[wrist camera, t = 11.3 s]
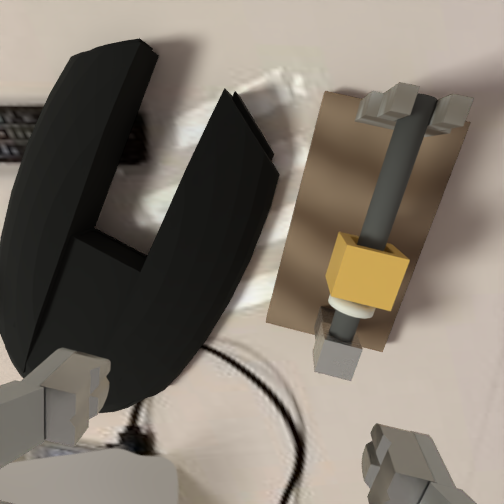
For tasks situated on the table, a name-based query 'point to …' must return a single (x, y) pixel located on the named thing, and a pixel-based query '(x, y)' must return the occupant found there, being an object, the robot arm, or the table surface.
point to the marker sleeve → (365, 272)
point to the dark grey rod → (385, 204)
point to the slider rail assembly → (361, 198)
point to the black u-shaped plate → (115, 252)
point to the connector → (334, 349)
